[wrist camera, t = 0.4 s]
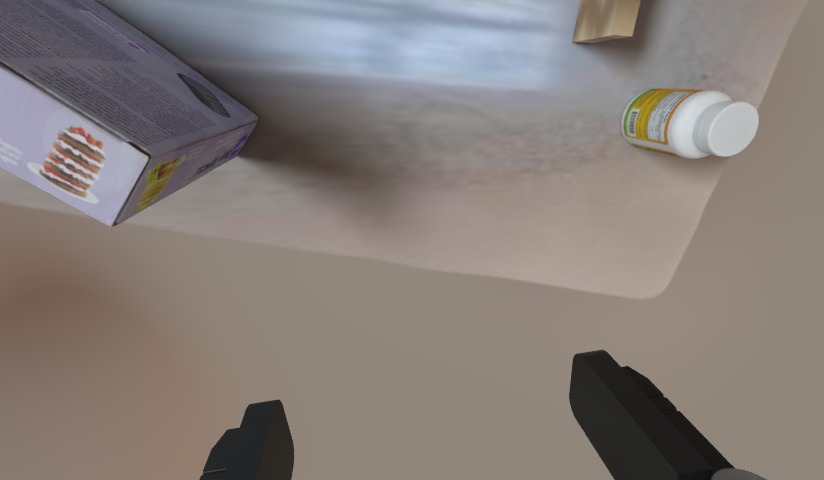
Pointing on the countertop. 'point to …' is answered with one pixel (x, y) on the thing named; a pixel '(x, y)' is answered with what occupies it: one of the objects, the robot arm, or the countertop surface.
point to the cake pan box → (106, 110)
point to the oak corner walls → (605, 20)
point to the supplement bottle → (689, 123)
